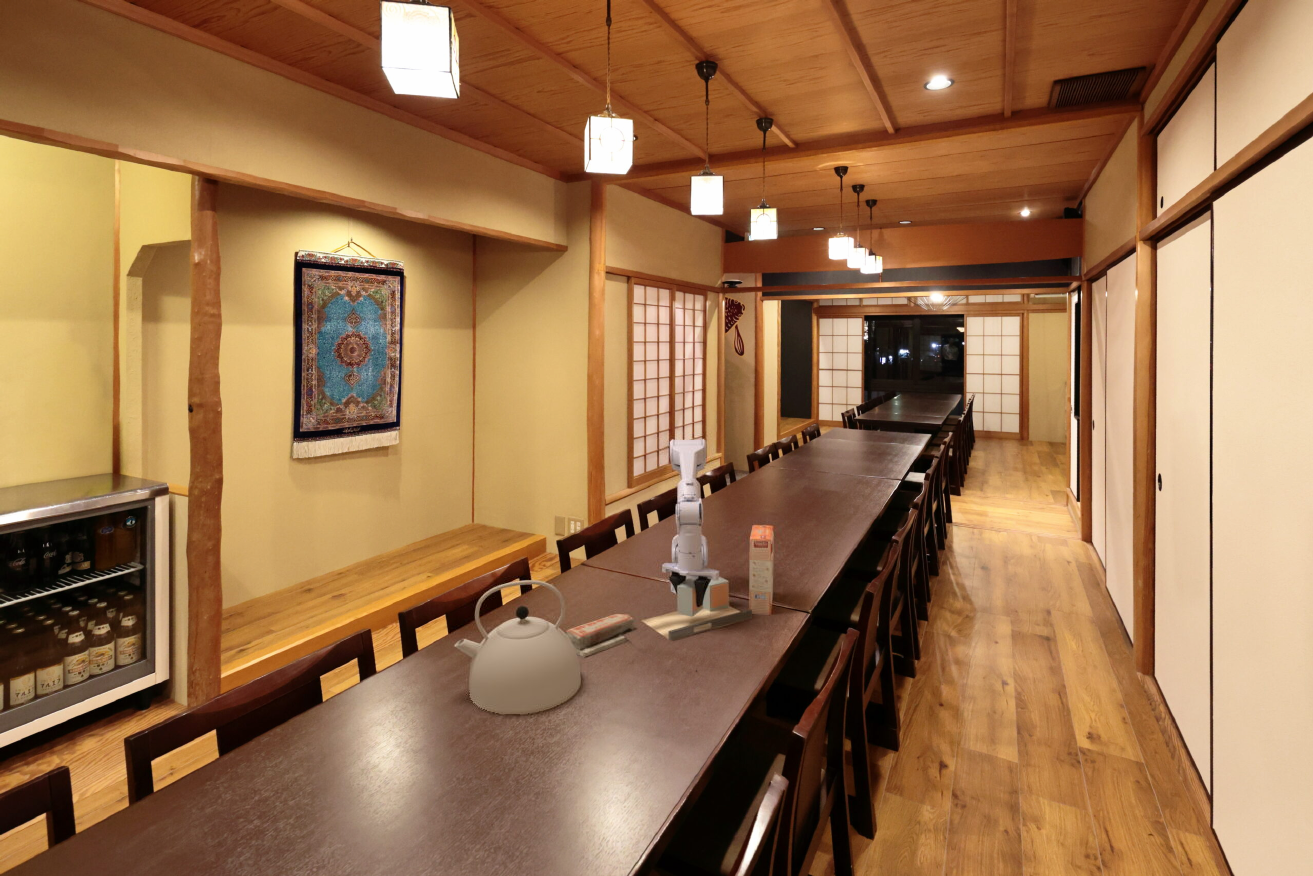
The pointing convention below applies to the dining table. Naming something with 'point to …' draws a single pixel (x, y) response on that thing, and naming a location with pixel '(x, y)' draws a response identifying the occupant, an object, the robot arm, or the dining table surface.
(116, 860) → the dining table surface
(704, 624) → the shelf board
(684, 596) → the turn carton
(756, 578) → the cracker box
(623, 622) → the packaged product
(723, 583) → the faced carton
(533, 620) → the kettle
